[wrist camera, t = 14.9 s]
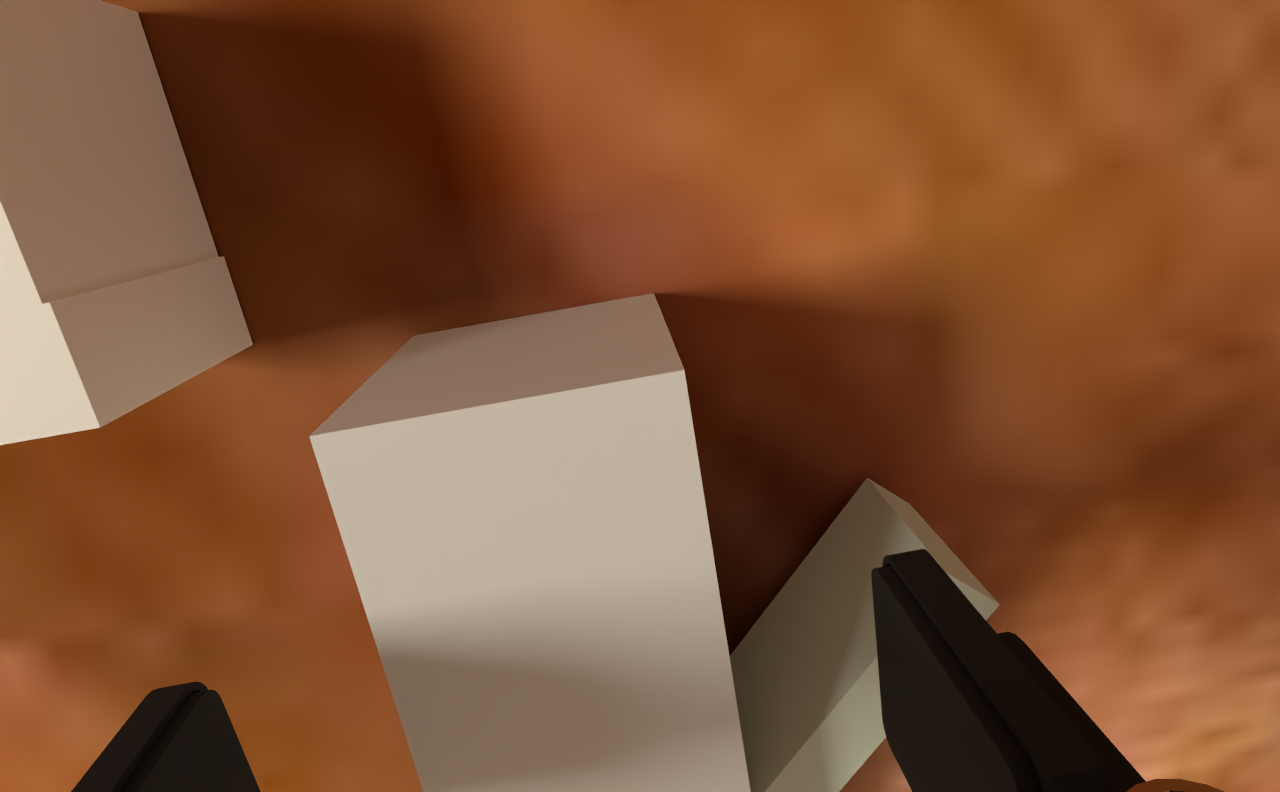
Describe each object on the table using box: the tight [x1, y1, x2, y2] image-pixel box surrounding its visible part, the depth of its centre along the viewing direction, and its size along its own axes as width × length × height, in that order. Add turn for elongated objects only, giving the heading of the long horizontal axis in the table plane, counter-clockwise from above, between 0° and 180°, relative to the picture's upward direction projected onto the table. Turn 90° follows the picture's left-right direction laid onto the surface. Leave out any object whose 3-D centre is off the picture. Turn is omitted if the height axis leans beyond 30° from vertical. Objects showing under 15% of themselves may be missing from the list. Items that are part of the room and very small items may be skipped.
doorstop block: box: [309, 293, 751, 792], centre depth 14 cm, size 9×5×6 cm, turn 10°
